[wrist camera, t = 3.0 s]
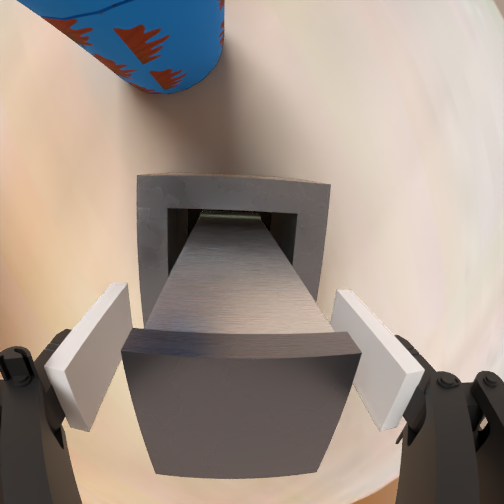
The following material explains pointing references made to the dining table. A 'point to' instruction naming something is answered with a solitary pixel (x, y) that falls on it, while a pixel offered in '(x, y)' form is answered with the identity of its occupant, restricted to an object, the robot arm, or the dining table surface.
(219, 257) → the column
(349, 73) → the dining table surface
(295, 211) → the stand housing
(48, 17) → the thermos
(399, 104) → the dining table surface
